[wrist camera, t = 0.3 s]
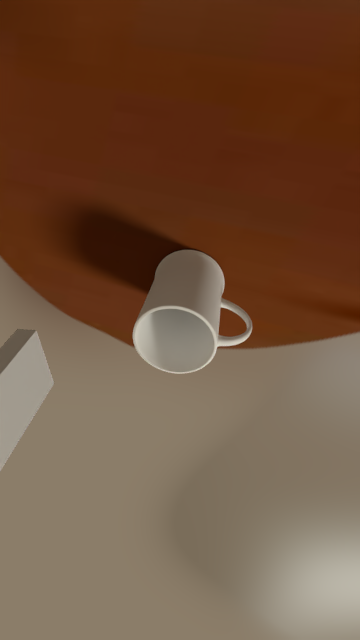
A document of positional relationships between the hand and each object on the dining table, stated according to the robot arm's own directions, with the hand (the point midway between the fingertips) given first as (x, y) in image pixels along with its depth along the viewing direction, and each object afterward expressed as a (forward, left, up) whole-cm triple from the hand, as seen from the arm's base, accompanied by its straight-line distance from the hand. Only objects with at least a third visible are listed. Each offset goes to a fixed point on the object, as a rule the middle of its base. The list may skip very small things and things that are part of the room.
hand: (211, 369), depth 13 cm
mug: (+12, -3, -28) cm, 30 cm away
